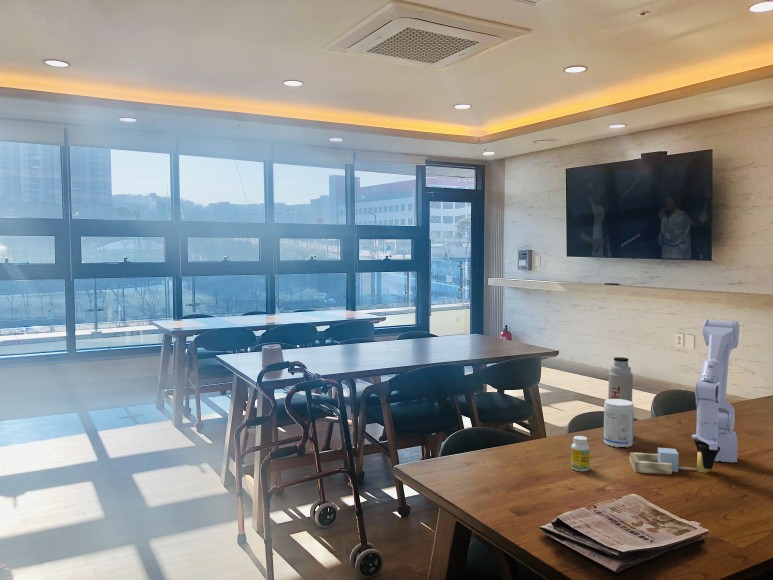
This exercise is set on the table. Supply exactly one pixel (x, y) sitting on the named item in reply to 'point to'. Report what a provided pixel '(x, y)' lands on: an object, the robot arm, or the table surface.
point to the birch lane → (649, 463)
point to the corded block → (672, 457)
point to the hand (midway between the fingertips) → (705, 466)
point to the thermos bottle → (620, 380)
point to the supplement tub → (618, 422)
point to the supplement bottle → (580, 454)
